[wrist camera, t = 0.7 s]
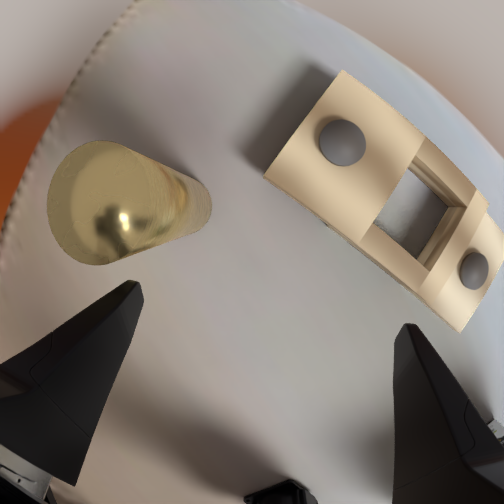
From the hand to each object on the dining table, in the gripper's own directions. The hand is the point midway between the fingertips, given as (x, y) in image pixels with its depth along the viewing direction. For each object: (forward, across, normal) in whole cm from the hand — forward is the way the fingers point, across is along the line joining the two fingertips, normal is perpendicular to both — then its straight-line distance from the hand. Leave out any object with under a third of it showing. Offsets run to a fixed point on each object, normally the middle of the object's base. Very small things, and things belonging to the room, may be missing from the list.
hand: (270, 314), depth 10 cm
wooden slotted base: (+16, -10, +3) cm, 19 cm away
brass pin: (+13, +8, +4) cm, 16 cm away
